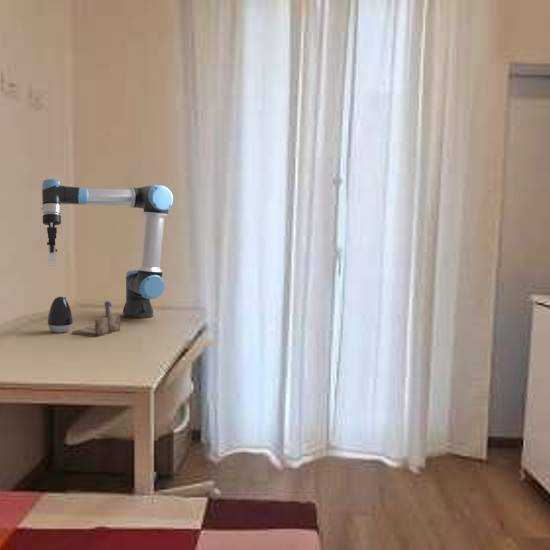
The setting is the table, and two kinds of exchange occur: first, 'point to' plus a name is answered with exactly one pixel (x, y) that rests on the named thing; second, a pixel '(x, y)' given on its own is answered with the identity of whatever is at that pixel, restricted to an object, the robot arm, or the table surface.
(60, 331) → the pump dispenser
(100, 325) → the stand
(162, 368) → the table surface
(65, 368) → the table surface
